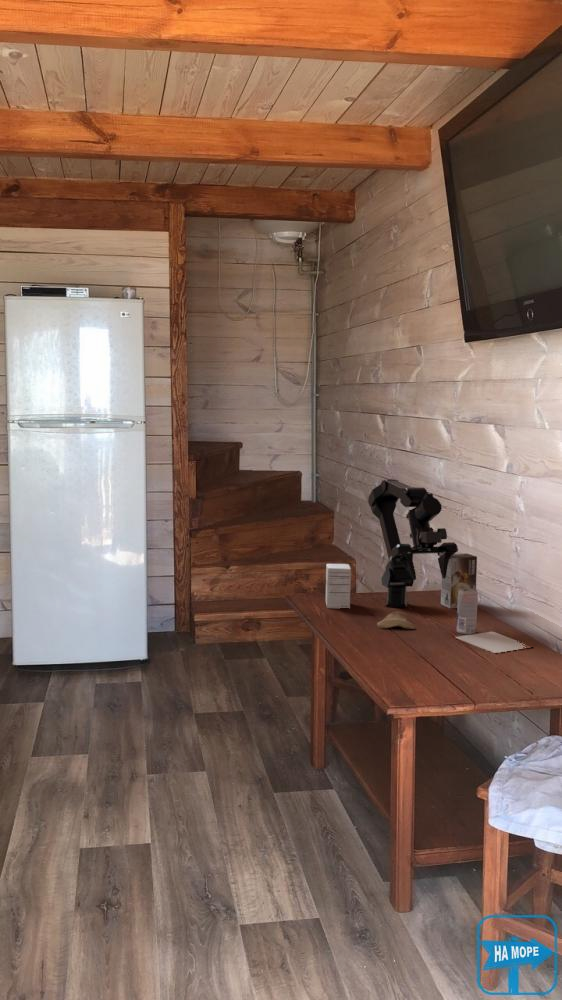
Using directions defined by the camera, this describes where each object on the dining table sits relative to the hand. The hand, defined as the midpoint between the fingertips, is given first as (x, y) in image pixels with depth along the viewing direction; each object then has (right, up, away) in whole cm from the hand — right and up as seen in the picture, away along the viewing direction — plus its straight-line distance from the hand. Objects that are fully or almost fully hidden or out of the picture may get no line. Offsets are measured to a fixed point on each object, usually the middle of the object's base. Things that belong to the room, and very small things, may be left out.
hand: (429, 578), depth 249 cm
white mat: (+14, -16, -16) cm, 27 cm away
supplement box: (-25, -10, +21) cm, 34 cm away
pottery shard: (-10, -14, 0) cm, 17 cm away
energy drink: (+9, -14, -6) cm, 18 cm away
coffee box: (+13, -11, +25) cm, 30 cm away
